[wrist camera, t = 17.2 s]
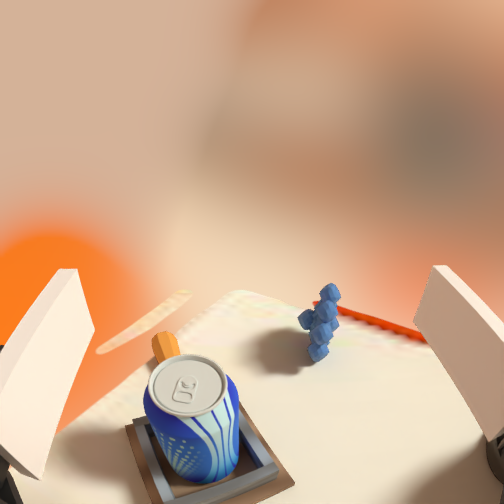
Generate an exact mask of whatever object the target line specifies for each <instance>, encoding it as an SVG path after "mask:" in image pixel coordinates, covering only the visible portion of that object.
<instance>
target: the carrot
mask: <svg viewBox="0 0 504 504" xmlns="http://www.w3.org/2000/svg"><path fill="white" fill-rule="evenodd" d="M152 348H153V352H154V354H155V356H156V359H157V361H158V363H159V364H160V363H161V362H163V361H164V360H166V359H168V358H171V357H174V356H177V355H180V351H179V347H178V342H177V339H176V338H175V336H174V335H173V334H171V333H169V332H166V331H165V332H160V333H157V334H156V335H155V336H154V337H153V338H152Z"/></svg>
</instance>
